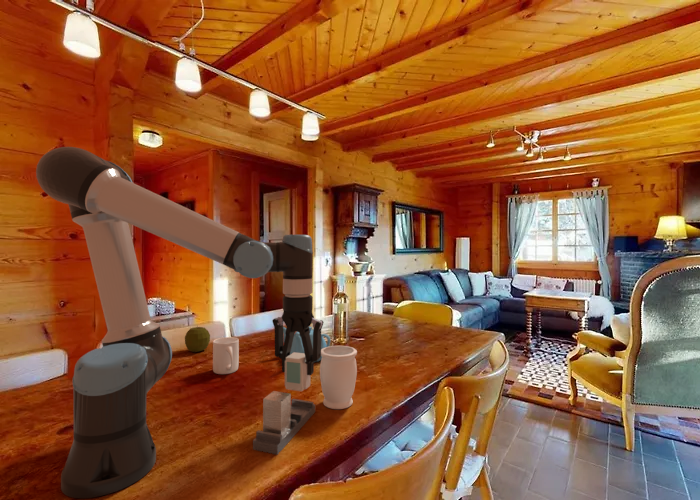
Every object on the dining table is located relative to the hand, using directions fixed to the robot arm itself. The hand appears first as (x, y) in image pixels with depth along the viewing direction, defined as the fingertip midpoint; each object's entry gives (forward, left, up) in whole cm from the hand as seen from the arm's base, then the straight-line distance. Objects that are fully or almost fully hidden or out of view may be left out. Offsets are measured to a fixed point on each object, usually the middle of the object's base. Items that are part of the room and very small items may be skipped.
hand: (297, 385), depth 88 cm
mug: (+22, +38, -9) cm, 45 cm away
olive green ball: (+38, +65, -9) cm, 76 cm away
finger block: (0, 0, 0) cm, 0 cm away
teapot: (+46, +19, -9) cm, 51 cm away
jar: (+12, -7, -9) cm, 16 cm away
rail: (-5, 0, -9) cm, 10 cm away
